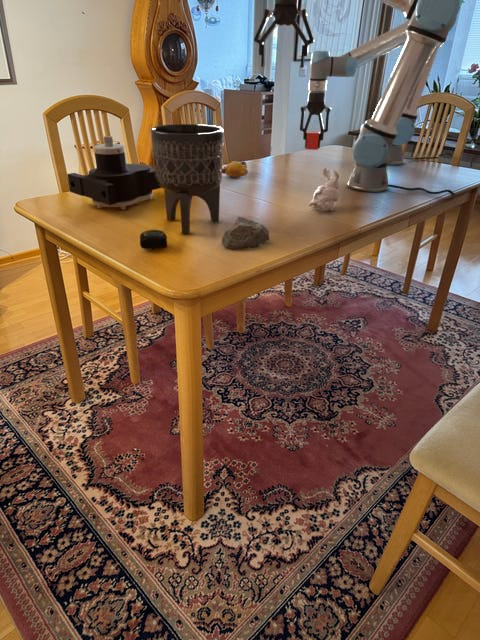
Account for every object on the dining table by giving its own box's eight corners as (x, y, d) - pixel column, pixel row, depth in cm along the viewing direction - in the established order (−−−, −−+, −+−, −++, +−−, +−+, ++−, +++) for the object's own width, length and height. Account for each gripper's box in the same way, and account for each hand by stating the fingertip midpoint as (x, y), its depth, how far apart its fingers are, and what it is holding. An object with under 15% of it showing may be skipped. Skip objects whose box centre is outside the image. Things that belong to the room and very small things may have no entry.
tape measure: (140, 252, 115) (139, 238, 113) (141, 242, 120) (140, 229, 119) (167, 251, 116) (166, 237, 114) (167, 241, 121) (166, 228, 120)
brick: (307, 147, 213) (308, 131, 210) (318, 147, 212) (320, 131, 209) (305, 149, 209) (307, 132, 205) (317, 150, 208) (318, 133, 204)
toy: (216, 169, 183) (223, 161, 196) (222, 185, 186) (228, 175, 199) (242, 161, 180) (247, 153, 193) (247, 176, 183) (252, 167, 196)
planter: (143, 226, 132) (134, 128, 119) (187, 210, 146) (183, 122, 133) (195, 240, 123) (191, 136, 109) (236, 222, 137) (238, 128, 123)
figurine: (343, 205, 155) (348, 167, 148) (324, 216, 144) (329, 175, 137) (322, 201, 158) (326, 164, 152) (302, 211, 148) (305, 171, 141)
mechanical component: (60, 135, 140) (138, 127, 160) (72, 203, 151) (143, 187, 171) (101, 144, 128) (180, 134, 148) (111, 217, 139) (183, 198, 159)
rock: (255, 233, 128) (256, 211, 124) (276, 242, 122) (278, 219, 119) (217, 244, 120) (217, 220, 117) (239, 254, 115) (239, 230, 111)
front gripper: (246, -10, 144) (244, 66, 155) (324, -11, 139) (317, 68, 150) (251, -8, 151) (249, 65, 161) (327, -8, 145) (320, 67, 156)
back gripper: (295, 91, 197) (291, 147, 209) (337, 92, 194) (331, 150, 205) (297, 90, 204) (294, 145, 215) (339, 91, 200) (333, 147, 211)
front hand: (282, 67), depth 156 cm, fingers open, 13 cm apart
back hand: (312, 147), depth 210 cm, fingers closed on brick, 5 cm apart
